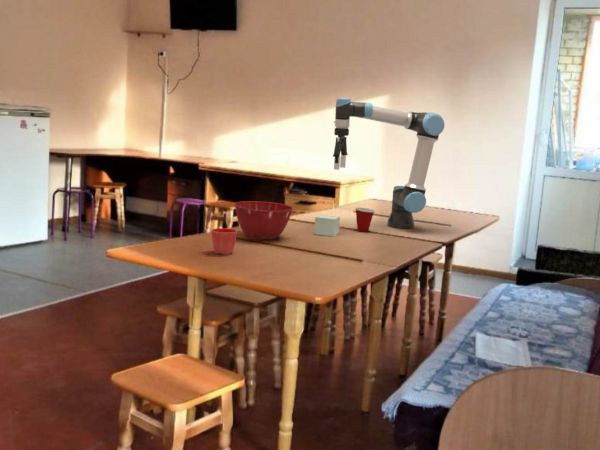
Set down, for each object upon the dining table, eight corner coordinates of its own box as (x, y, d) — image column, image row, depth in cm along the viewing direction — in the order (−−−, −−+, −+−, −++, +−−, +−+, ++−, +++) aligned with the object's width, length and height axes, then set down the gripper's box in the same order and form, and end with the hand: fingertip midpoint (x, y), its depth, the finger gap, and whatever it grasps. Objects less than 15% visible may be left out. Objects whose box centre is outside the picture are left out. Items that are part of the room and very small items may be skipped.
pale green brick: (338, 233, 354) (339, 216, 352) (333, 236, 344) (334, 219, 343) (319, 231, 357) (320, 214, 355) (314, 234, 347) (315, 217, 346)
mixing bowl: (299, 235, 340) (301, 205, 338) (278, 245, 314) (280, 212, 311) (247, 229, 349) (248, 199, 347) (222, 238, 323) (224, 205, 320)
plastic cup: (372, 233, 360) (374, 211, 358) (351, 231, 362) (353, 209, 360) (374, 230, 370) (376, 208, 368) (354, 228, 372) (356, 206, 370)
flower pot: (211, 249, 296) (211, 227, 294) (236, 250, 297) (237, 228, 295) (209, 254, 286) (210, 231, 284) (236, 255, 287) (237, 233, 285)
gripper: (340, 127, 371) (338, 166, 375) (328, 127, 347) (326, 169, 351) (354, 127, 369) (351, 167, 372) (343, 128, 345) (341, 170, 349)
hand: (339, 168), depth 362 cm, fingers open, 13 cm apart
